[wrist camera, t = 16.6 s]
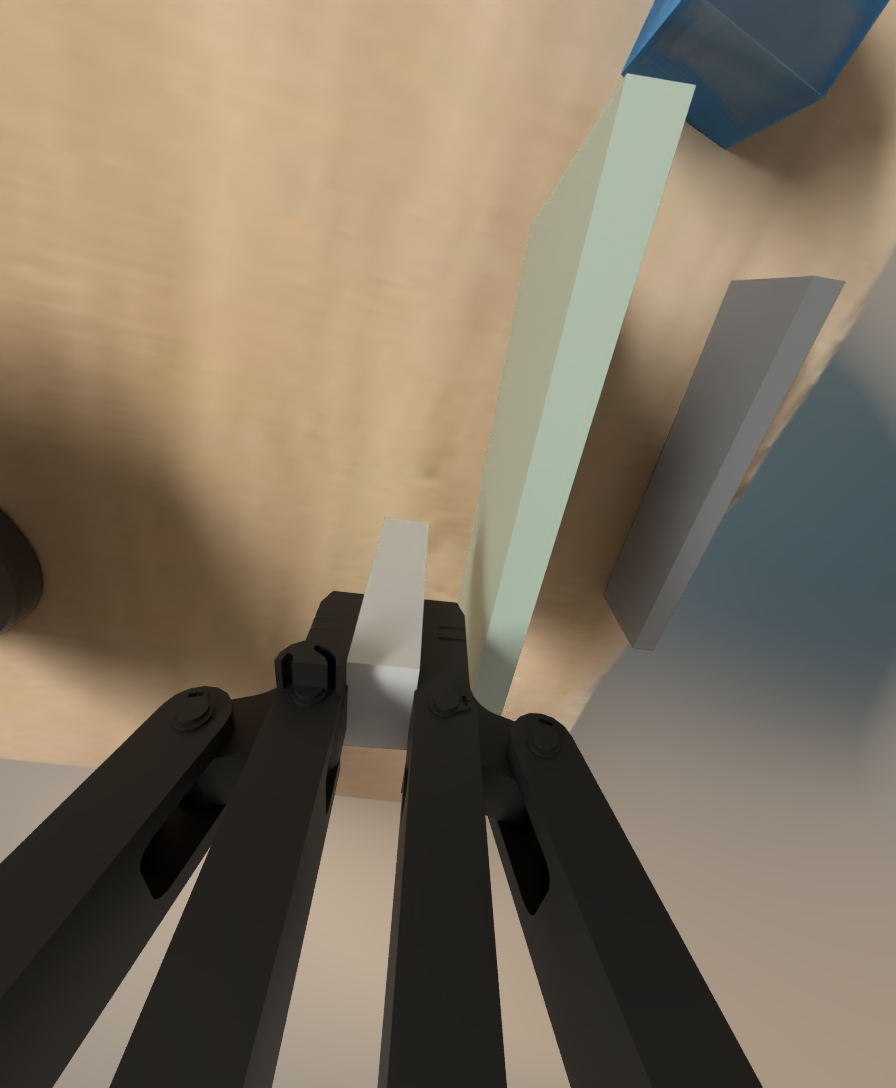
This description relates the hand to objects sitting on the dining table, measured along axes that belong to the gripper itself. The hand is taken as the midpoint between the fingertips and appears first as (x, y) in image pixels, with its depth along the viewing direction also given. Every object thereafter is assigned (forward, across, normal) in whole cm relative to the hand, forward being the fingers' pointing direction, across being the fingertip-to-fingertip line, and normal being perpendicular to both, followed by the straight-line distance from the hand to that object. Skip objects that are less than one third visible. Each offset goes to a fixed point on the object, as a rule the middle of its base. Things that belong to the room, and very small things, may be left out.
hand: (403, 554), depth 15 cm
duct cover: (+2, +4, 0) cm, 5 cm away
